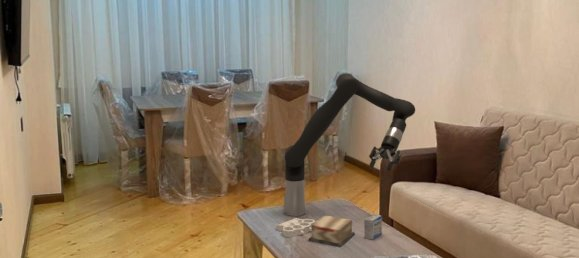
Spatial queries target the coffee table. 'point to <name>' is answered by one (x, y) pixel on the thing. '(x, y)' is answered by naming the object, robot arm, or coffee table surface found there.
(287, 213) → the robot arm
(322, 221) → the stand
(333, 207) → the coffee table surface
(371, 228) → the medicine box
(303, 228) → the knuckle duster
